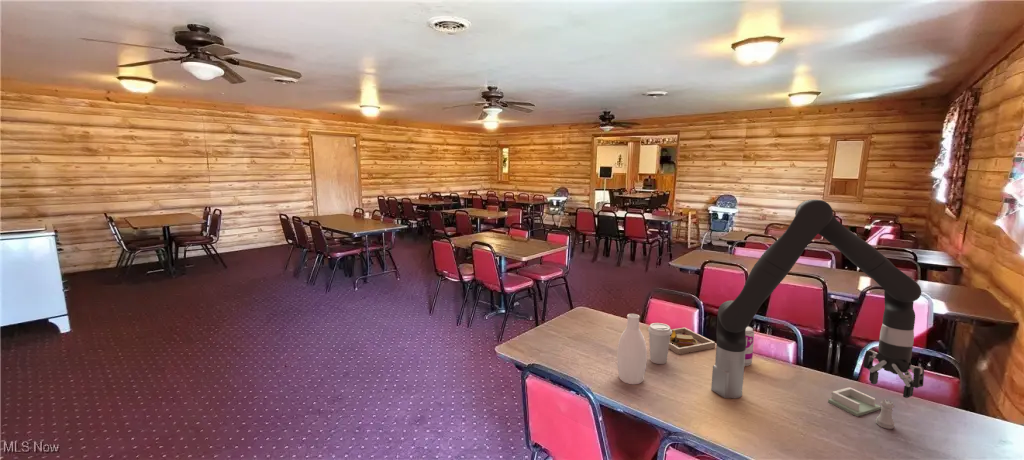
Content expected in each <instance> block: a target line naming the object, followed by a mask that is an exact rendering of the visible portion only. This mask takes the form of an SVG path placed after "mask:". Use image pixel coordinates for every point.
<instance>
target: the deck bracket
mask: <svg viewBox="0 0 1024 460" xmlns="http://www.w3.org/2000/svg"><path fill="white" fill-rule="evenodd" d="M876 401H877V398H875V397H873V396H870V395H868V394H866V393H863V392H862V391H859V390H857V389H854V388H852V387H850V386H849V387H846V388H845V387H844V388H841V389H838V390H834V391H832V392H831V397H830V398H829V399H827V403H829V404H831V405H833V406H835V407H837V408H839V409H841V410H842V411H845V412H848V413H849V414H851V415H854V416H856V417H860V416H863V415H867V414H870V413H873V412H877V411H879V410H880V411H881V407H882V405H879V404H877V403H876Z"/></svg>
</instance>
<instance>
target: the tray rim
mask: <svg viewBox="0 0 1024 460" xmlns="http://www.w3.org/2000/svg"><path fill="white" fill-rule="evenodd" d="M673 330H675V333H676V334H683V335H690V336H692V337H693V338H694V339H696V340H697V341H698V340H699V342H701V343H698V344H697V345H692V346H687V347H680V346H677V345H674V344H672V343H671V342H669V348H668V350H670V349H671V350H670V351H672V352H674V353H675V352H676V354H677V355H683V354H689V352H690V353H695V352H700V351H704V350H710V349H714V348H715V349H716V341H714V340H712V339H709V338H707V337H706V336H703V335H701V334H699V333H697V332H695V331H694V330H691V329H689V328H687V327H684V326H683V327H678V328H672V329H671V331H672V332H673ZM671 335H672V334H671ZM711 342H712V343H711Z"/></svg>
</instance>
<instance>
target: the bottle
mask: <svg viewBox="0 0 1024 460" xmlns="http://www.w3.org/2000/svg"><path fill="white" fill-rule="evenodd" d="M626 317H627V318H626V319H627V321H626V327H625V328H624V330H623V332H622V333H621V334H620V337H619V340H618V343H617V348H616V361H617V363H616V365H617V373H618V378H619V379H620V381H621V382H623V383H625V384H629V385H639V384H641V383H642V382H643V381H644V380H645V379H644V378H645V374H646V369H647V360H648V349H647V342H646V340H645V337H644V334H643V332H642V330H641V329H640V318H641V317H640V315H639V314H636V313H628V314H627V316H626Z"/></svg>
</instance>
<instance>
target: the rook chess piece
mask: <svg viewBox="0 0 1024 460" xmlns="http://www.w3.org/2000/svg"><path fill="white" fill-rule="evenodd" d="M880 406H881V409H880V413H879V415H877V417H876V418H875V424H877V426H879V427H881V428H883V429H886V430H893V429H894V428H895V422H894V419H893V415H892V413H893V411H894V410H893V409H894V408H895V405H894V402H892V401H891V400H889V401H888V399H882V401H880Z"/></svg>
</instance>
